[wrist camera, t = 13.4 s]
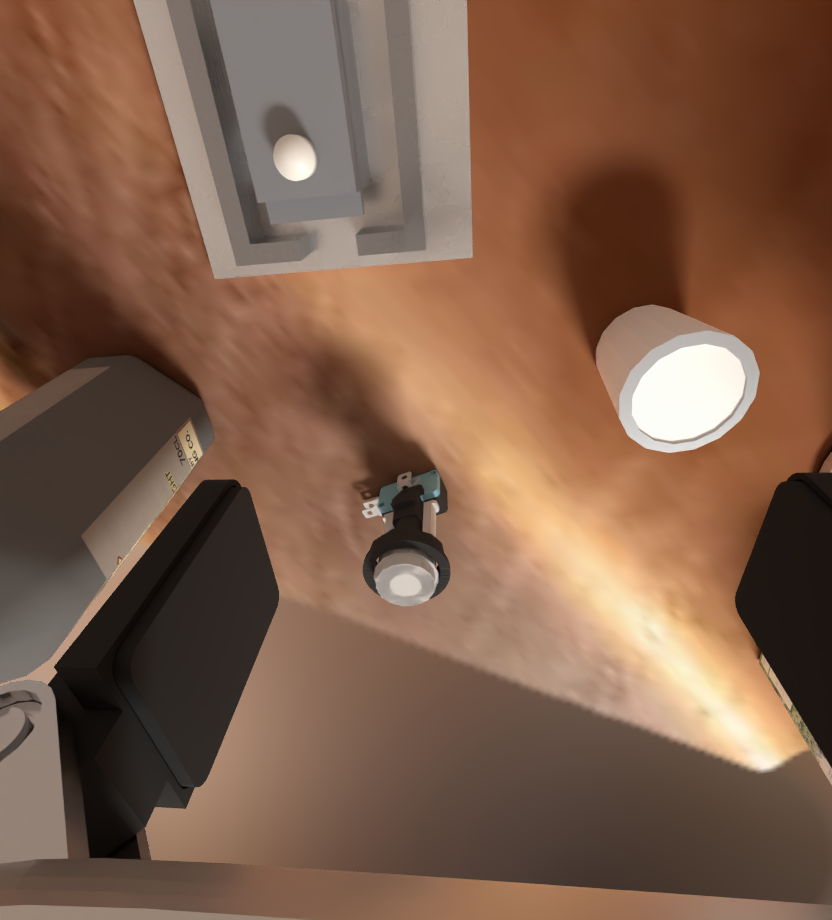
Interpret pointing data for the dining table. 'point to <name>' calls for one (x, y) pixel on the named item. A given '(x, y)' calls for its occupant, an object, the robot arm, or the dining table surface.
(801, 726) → the syrup box
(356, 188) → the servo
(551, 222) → the dining table surface
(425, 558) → the push button
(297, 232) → the plate
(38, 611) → the liquor
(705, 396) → the white cylinder
